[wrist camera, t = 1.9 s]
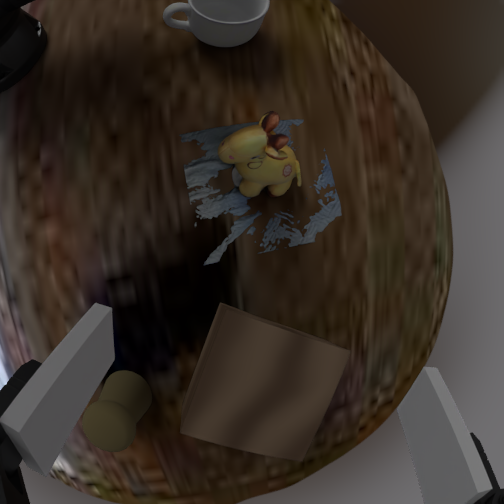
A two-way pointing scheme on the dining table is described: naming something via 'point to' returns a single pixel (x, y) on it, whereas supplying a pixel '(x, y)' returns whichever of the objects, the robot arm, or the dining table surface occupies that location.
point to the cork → (117, 411)
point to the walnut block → (261, 385)
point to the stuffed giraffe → (254, 177)
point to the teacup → (219, 20)
